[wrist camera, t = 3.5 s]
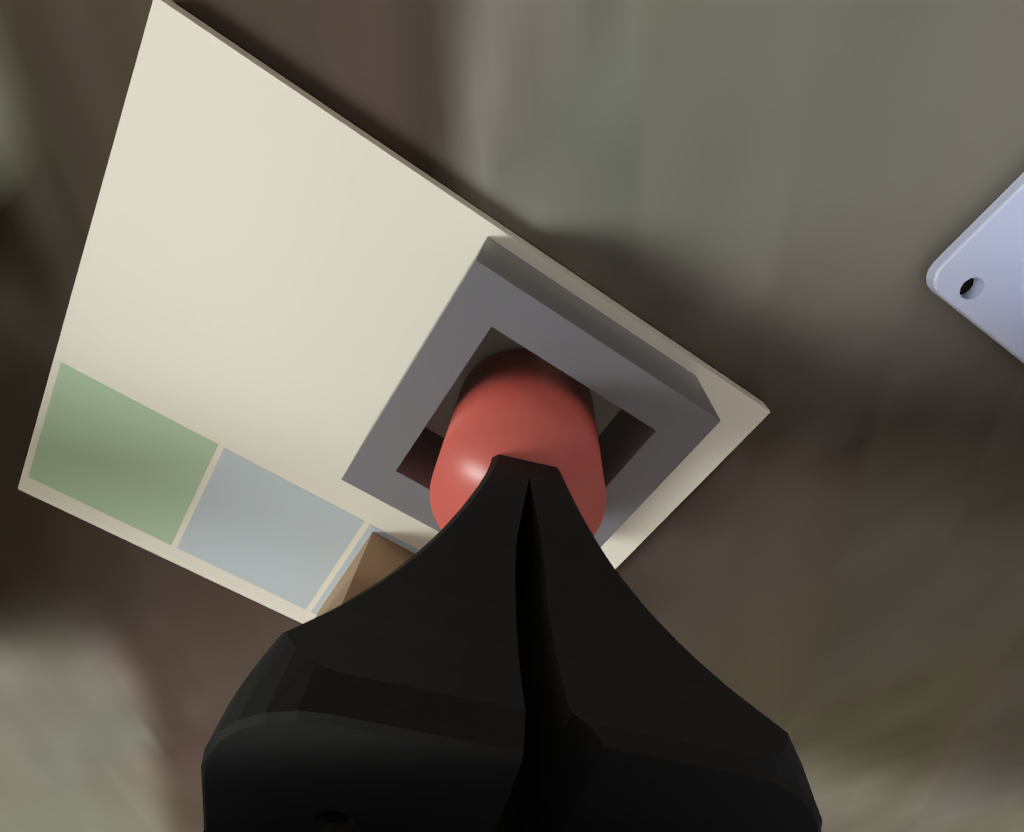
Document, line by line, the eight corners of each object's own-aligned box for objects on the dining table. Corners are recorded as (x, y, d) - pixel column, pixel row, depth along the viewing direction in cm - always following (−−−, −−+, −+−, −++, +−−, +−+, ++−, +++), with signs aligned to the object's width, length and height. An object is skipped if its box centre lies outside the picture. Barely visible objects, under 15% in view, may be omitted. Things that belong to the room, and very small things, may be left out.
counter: (486, 591, 19) (476, 668, 16) (425, 662, 21) (406, 743, 18) (372, 531, 18) (342, 603, 16) (318, 611, 20) (282, 687, 17)
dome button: (621, 396, 15) (643, 483, 12) (543, 490, 17) (540, 593, 13) (504, 321, 14) (488, 390, 11) (433, 427, 16) (398, 518, 12)
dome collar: (696, 375, 15) (720, 420, 13) (555, 535, 18) (556, 594, 16) (487, 236, 14) (475, 259, 12) (369, 430, 17) (341, 479, 14)
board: (763, 402, 16) (771, 412, 16) (480, 692, 22) (479, 707, 22) (171, 0, 13) (154, -5, 12) (32, 478, 19) (17, 489, 18)
